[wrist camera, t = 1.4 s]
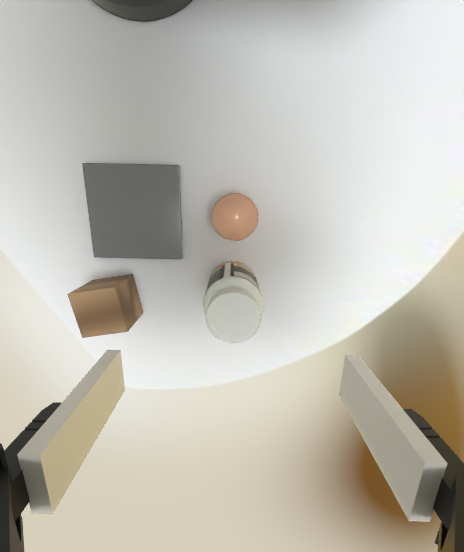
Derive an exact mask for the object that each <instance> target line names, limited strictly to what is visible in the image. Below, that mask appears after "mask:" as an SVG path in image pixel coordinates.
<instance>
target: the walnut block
mask: <svg viewBox="0 0 464 552" xmlns="http://www.w3.org/2000/svg"><path fill="white" fill-rule="evenodd" d="M68 297H69V300H70V303H71V306H72V309H73V312H74V315H75V317H76V320H77V323H78V326H79V329H80V332H81V335H82V338H85V337H92V336H99V335H106V334H113V333H121V332H128V331H129V329H130V328H131V327H132V326H133V324H134V323H135V322H136V321H137V320H138V318H139V317H140V316H141V315H142V313H143V310H142V306H141V303H140V299H139V295H138V291H137V288H136V284H135V280H134V276H133V274H132V275H125V276H118V277H112V278H105V279H98V280H92V281H91V282H89V283H87V284H85V285H83V286H81V287H80V288H78V289H76V290H74V291H72V292H71V293H69V294H68Z"/></svg>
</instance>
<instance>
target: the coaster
mask: <svg viewBox="0 0 464 552" xmlns="http://www.w3.org/2000/svg"><path fill="white" fill-rule="evenodd" d="M83 172H84V180H85V188H86V196H87V204H88V212H89V220H90V228H91V236H92V244H93V252H94V257H101V258H148V259H182V228H181V196H180V166H179V165H146V164H99V163H83Z"/></svg>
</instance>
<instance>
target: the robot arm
mask: <svg viewBox="0 0 464 552" xmlns="http://www.w3.org/2000/svg"><path fill="white" fill-rule="evenodd" d="M93 1H94V2H95V3H97V4H98V5H99V6H101V7H102V8H104V9H105V10H107V11H109V12H111V13H113V14H115V15H118V16H120V17H123V18H127V19H132V20H141V21H147V20H156V19H160V18H163V17H166V16H169V15H171V14H173V13H175V12H177V11H179V10H180V9H182V8H183V7H185V6H186V5H187V4H188V3H189V2H190V1H192V0H93ZM124 391H125V389H124V380H123V370H122V360H121V350H107V351H106V352H105V353H104V355H103V356H102V357H101V358H100V359H99V360H98V362H97V363H96V364H95V365H94V366H93V367H92V369H91V370H90V371H89V372H88V373H87V374H86V375H85V377H84V378H83V379H82V380H81V382H79V384H78V385H77V386H76V387H75V388H74V389H73V391H72V392H71V393H70V394H69V395H68V396H67V398H66V399H65V400H64V401H63V402H62V403H52V404H51V405H49V406H48V407H46V408H45V409H43V410H42V411H41V412H40V413H39V414H38V415H37V416H36V417H35V418H34V419H33V420H32V422H31V423H30V424H29V425H28V426H27V427H26V428H25V430H24V431H22V432H21V433H20V434H19V436H18V437H17V438H16V439H15V440H14V441H13V442H12V443H11V444H10V445H9V446H8V447H7V449H6V450H5V451H4V449H3V446H2V444H0V552H24V541H23V524H22V517H21V513H22V511H23V510H24V508H25V507H26V505H27V504H28V503H30V508H31V512H32V513H38V514H53V512H54V511H55V509H56V507H57V505H58V504H59V502H60V500H61V499H62V497H63V495H64V493H65V492H66V490H67V488H68V487H69V485H70V483H71V481H72V480H73V478H74V476H75V475H76V473H77V471H78V470H79V468H80V466H81V464H82V462H83V461H84V459H85V458H86V456H87V454H88V452H89V451H90V449H91V447H92V446H93V444H94V442H95V440H96V439H97V437H98V435H99V434H100V432H101V430H102V428H103V427H104V425H105V423H106V422H107V420H108V418H109V416H110V415H111V413H112V411H113V410H114V408H115V406H116V404H117V403H118V401H119V399H120V398H121V396H122V394H123V392H124ZM339 396H340V397H341V399H342V401H343V403H344V404H345V406H346V408H347V410H348V412H349V414H350V415H351V417H352V419H353V421H354V423H355V424H356V426H357V428H358V430H359V432H360V433H361V435H362V437H363V439H364V441H365V442H366V444H367V446H368V448H369V450H370V452H371V453H372V455H373V457H374V459H375V460H376V462H377V464H378V466H379V468H380V469H381V471H382V473H383V475H384V477H385V479H386V480H387V482H388V484H389V486H390V488H391V489H392V491H393V493H394V495H395V497H396V498H397V500H398V502H399V504H400V506H401V507H402V509H403V511H404V513H405V515H406V516H407V518H408V520H409V521H430V519H431V516H432V513H433V510H434V511H435V512H436V514H437V515H438V517H439V518H440V520H441V521H442V522H441V525H440V528H439V531H438V535H437V538H436V541H435V543H436V544H438V552H464V463H463V462H462V461H461V460H460V459H459V457H458V456H457V455H456V454H455V453H454V452H453V451H452V450H451V448H450V447H449V446H448V445H447V444H446V443H445V442H444V441H443V439H441V438H440V436H439V435H438V434H437V433H436V432H435V430H433V429H432V427H431V426H430V425H429V424H428V423H427V422H426V420H425V419H424V418H422V417H421V416H420V415H419V414H417V413H416V412H414V411H413V410H412V409H402V408H401V407H400V406H399V404H398V403H397V402H396V400H395V399H394V398H393V397H392V396H391V394H390V393H389V392H388V391H387V389H386V388H385V387H384V386H383V385H382V383H381V382H380V381H379V380H378V379H377V378H376V376H375V375H374V374H373V373H372V371H371V370H370V369H369V368H368V366H367V365H366V364H365V363H364V362H363V361H362V359H361V358H360V357H359V356H358V355H345V360H344V366H343V373H342V380H341V387H340V394H339Z"/></svg>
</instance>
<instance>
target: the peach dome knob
mask: <svg viewBox="0 0 464 552" xmlns="http://www.w3.org/2000/svg"><path fill="white" fill-rule="evenodd" d="M212 222H213V226H214V228H215V230H216V231H217V232H218V234H219V235H221V236H222V237H223V238H225V239H228V240H233V241H238V240H242V239H244V238H246V237H248V236H249V235H250V234H251V233H252V232H253V231H254V230H255V228H256V225H257V222H258V212H257V208H256V206H255V204H254V203H253V202H252V201H251V200H250V199H249V198H248V197H246V196H245V195H242V194H236V193H234V194H228V195H226V196H224V197H222V198H221V199H220V200H219V201H218V202H217V203H216V204H215V206H214V209H213V212H212Z"/></svg>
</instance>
